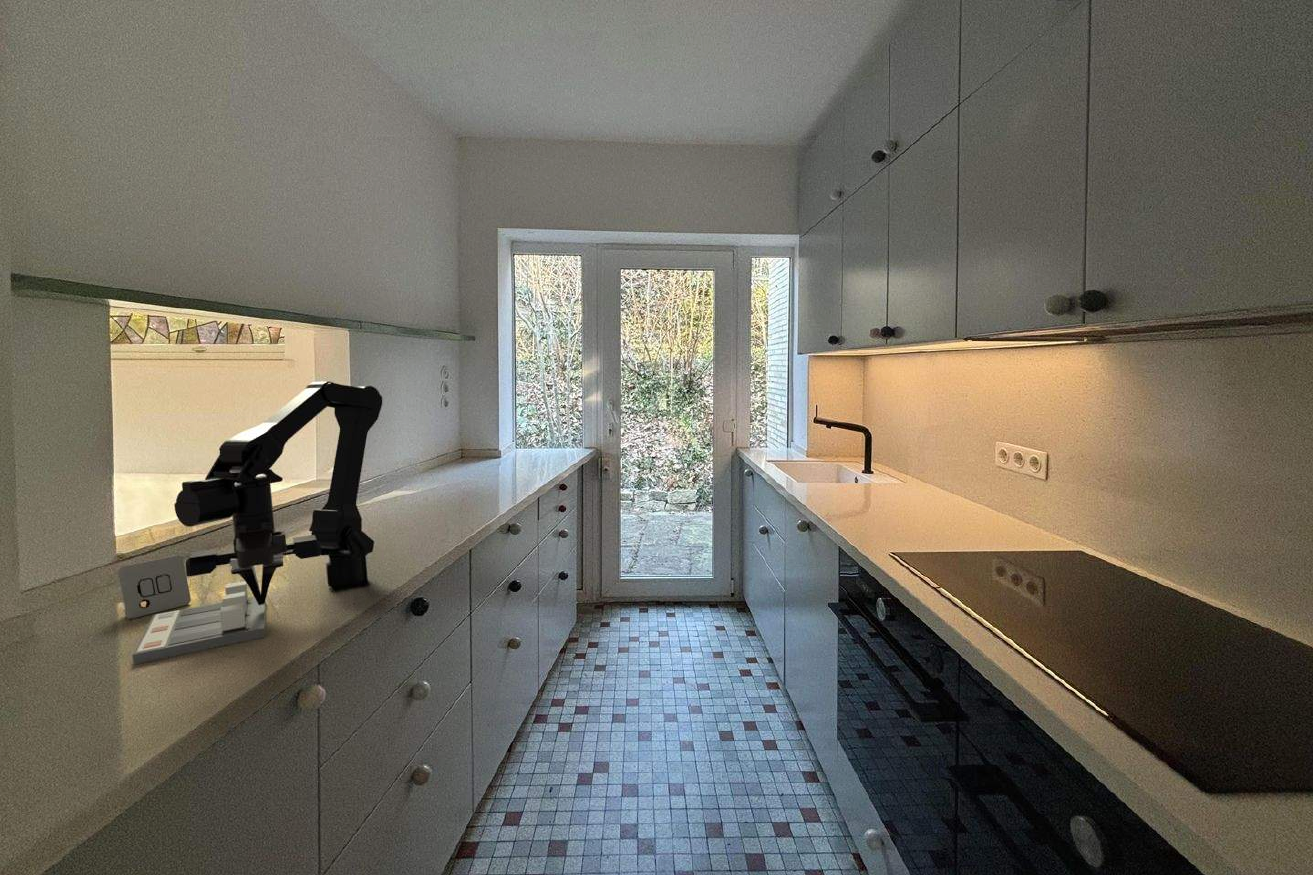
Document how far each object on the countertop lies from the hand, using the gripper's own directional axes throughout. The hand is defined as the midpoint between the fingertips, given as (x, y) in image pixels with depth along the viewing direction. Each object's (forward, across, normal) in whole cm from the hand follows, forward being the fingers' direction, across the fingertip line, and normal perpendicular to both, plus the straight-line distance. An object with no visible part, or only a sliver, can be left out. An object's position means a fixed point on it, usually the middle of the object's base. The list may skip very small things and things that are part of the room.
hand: (261, 604), depth 106 cm
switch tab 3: (+1, -4, -7) cm, 8 cm away
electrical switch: (+3, -17, +18) cm, 25 cm away
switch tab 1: (+1, -4, +7) cm, 8 cm away
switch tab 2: (+1, -4, 0) cm, 4 cm away
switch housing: (+3, -8, 0) cm, 8 cm away
